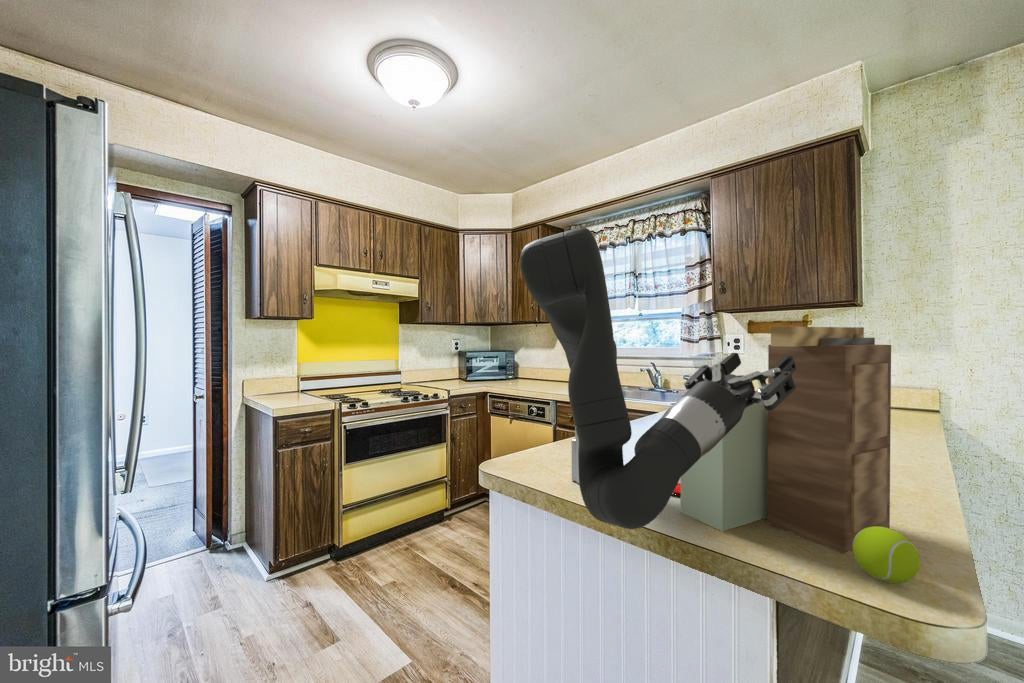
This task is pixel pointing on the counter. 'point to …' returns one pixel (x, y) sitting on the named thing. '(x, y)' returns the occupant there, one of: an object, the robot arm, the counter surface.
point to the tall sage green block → (731, 476)
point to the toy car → (677, 489)
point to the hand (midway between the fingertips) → (762, 358)
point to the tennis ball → (886, 554)
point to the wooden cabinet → (831, 442)
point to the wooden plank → (811, 335)
